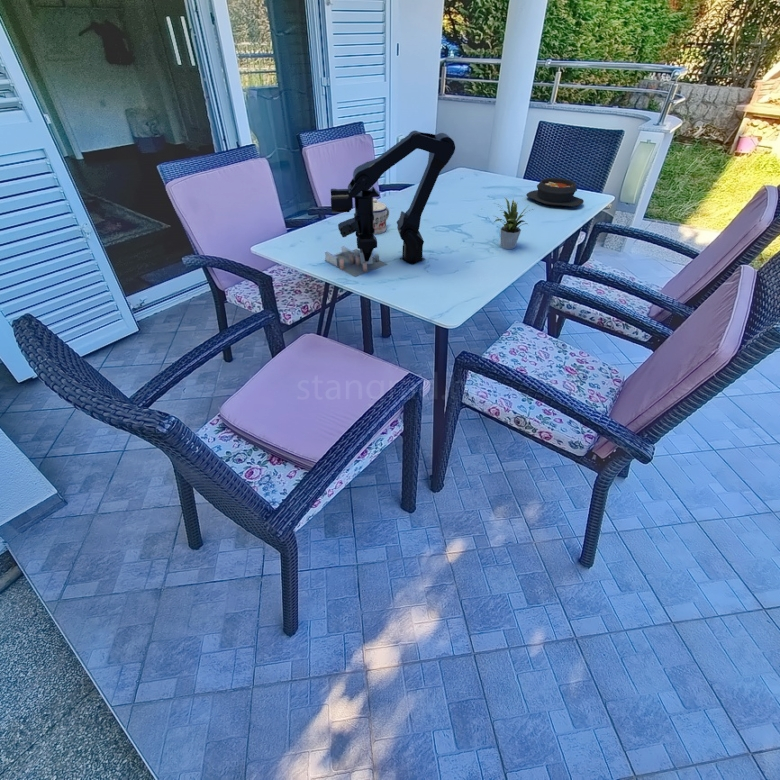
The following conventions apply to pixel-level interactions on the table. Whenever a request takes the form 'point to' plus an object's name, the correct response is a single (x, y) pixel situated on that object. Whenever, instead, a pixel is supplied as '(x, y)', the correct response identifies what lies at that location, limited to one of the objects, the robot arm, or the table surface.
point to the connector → (364, 259)
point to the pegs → (357, 261)
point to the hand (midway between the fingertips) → (366, 258)
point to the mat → (358, 270)
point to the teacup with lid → (380, 216)
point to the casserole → (556, 192)
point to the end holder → (334, 258)
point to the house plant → (510, 226)
